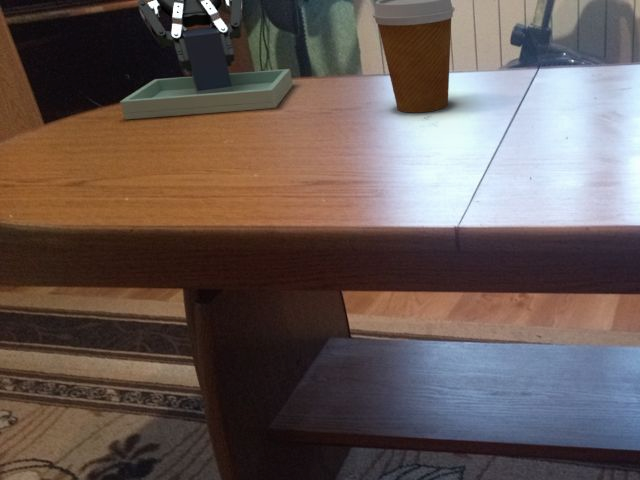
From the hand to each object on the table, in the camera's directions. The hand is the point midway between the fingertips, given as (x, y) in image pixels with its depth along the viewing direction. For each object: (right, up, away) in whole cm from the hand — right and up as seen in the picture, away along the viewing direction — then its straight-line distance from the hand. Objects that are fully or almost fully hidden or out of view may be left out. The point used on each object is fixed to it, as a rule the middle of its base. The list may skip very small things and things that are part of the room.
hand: (208, 64), depth 97 cm
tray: (0, -4, +3) cm, 5 cm away
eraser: (0, -3, +4) cm, 4 cm away
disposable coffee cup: (+29, -8, -7) cm, 31 cm away
